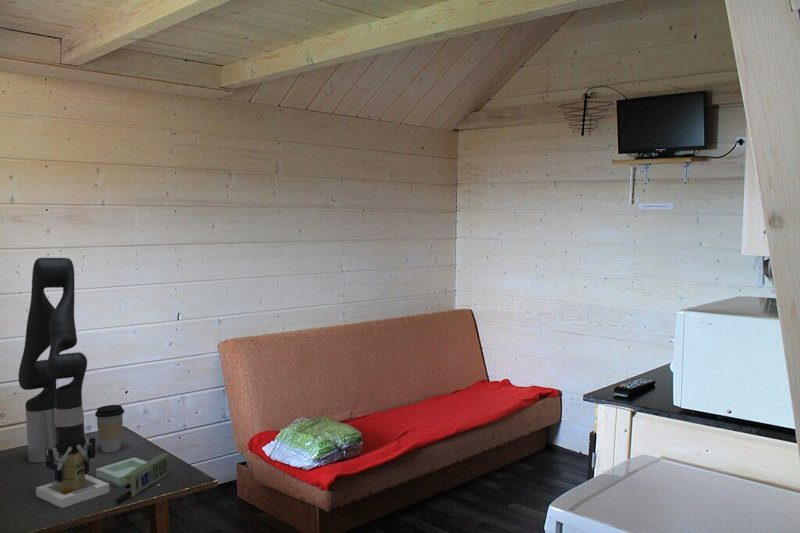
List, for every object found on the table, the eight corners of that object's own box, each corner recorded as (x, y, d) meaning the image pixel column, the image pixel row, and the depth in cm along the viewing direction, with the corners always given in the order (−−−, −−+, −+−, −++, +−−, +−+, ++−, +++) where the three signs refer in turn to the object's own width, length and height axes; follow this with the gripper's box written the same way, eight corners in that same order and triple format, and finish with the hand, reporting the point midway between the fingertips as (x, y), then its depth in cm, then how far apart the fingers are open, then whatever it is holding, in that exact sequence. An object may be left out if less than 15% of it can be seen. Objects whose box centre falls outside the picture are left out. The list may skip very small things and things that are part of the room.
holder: (36, 496, 200) (36, 486, 200) (83, 481, 211) (83, 472, 211) (61, 508, 191) (61, 498, 191) (109, 492, 202) (109, 482, 202)
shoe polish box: (85, 489, 204) (83, 449, 203) (76, 495, 199) (74, 454, 198) (69, 488, 204) (67, 449, 203) (60, 495, 199) (58, 454, 198)
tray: (96, 478, 213) (95, 469, 213) (134, 466, 224) (134, 457, 224) (118, 487, 206) (118, 477, 205) (157, 474, 216) (157, 465, 216)
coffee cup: (101, 446, 245) (99, 404, 244) (129, 445, 246) (127, 403, 245) (92, 455, 236) (90, 412, 235) (121, 453, 237) (119, 410, 236)
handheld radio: (171, 473, 217) (123, 505, 193) (162, 473, 218) (112, 505, 194) (169, 453, 217) (121, 482, 193) (160, 452, 218) (111, 481, 193)
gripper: (87, 414, 208) (89, 468, 209) (38, 425, 197) (40, 482, 198) (100, 418, 203) (102, 473, 204) (50, 430, 192) (53, 488, 193)
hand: (72, 477), depth 201 cm, fingers closed on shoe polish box, 7 cm apart
